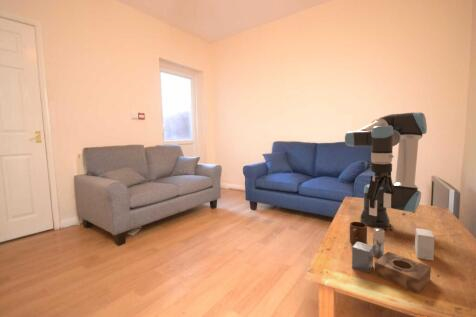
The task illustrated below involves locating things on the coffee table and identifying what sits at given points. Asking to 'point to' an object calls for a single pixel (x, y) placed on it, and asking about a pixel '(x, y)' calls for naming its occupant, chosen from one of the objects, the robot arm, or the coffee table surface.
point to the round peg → (378, 242)
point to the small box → (424, 244)
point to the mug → (358, 232)
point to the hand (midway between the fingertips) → (380, 211)
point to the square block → (362, 257)
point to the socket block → (403, 271)
